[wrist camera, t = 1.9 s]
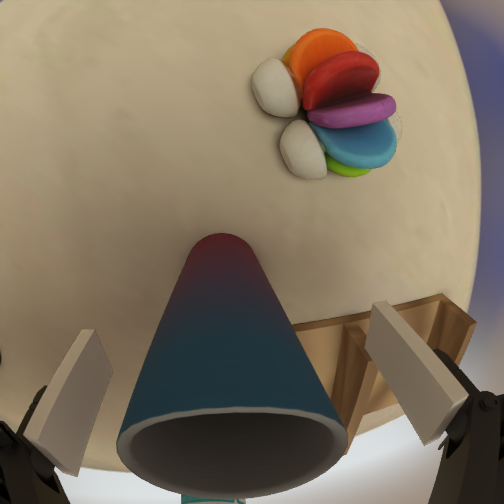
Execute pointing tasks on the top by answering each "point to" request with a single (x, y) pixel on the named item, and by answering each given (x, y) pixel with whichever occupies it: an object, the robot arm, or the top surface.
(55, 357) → the top surface
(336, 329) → the rack
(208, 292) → the cup
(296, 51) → the rainbow disc stack
